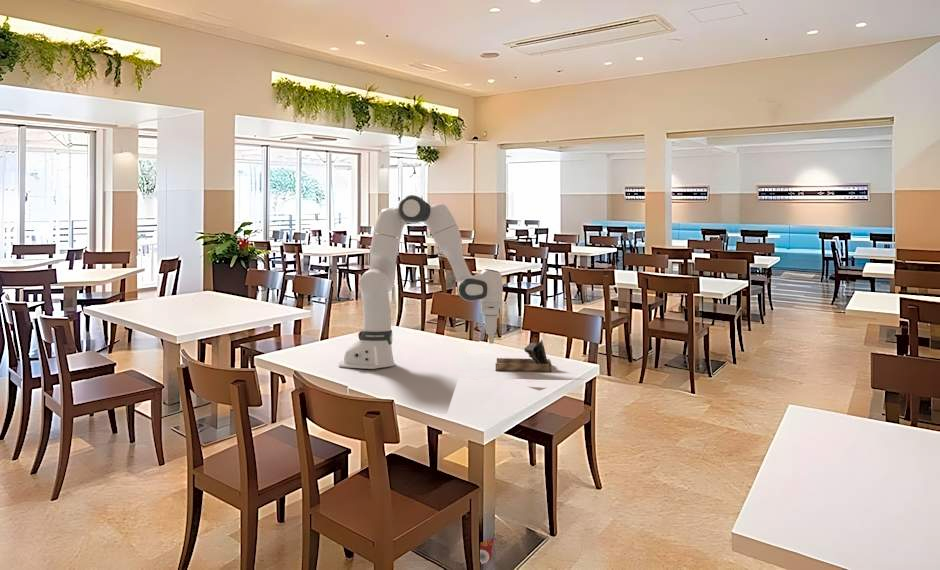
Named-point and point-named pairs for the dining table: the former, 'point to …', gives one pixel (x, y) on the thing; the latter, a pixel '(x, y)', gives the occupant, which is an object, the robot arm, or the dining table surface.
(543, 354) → the bell
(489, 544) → the smoothie
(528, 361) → the cradle
